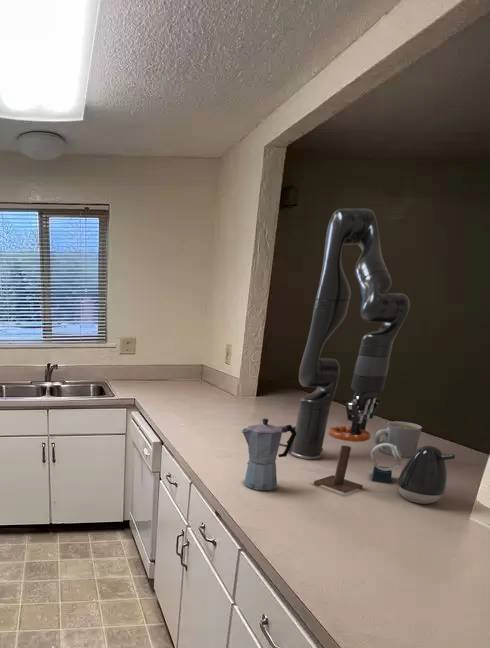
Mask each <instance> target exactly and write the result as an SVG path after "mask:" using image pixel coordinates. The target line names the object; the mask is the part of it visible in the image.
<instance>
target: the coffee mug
mask: <svg viewBox="0 0 490 648" xmlns="http://www.w3.org/2000/svg"><path fill="white" fill-rule="evenodd" d="M422 429H423V426H421V425H419V424H417V423H413V422H407V421H388V422H387V423H386V426H385V428H382V429H379V430H377V431H376V433H375V435H374V443H375V444H376V446H377V445H379V444H382V443H388V444H393V445H394V446H397V448H398V450H399V452H400V454H401V457H402V458H411V457H412V456H413V454H414V453H415V452H416V451H417V448H418V444H419V441H420V436H421V433H422ZM382 435H383V439H382V440H380V439H381V436H382ZM380 451H381V452H382V453H383V454H387V455H390V456H393V453H392V450H391V447H389V446H381V447H380Z"/></svg>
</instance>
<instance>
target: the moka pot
mask: <svg viewBox="0 0 490 648" xmlns="http://www.w3.org/2000/svg"><path fill="white" fill-rule="evenodd" d="M268 423H269V419H268V418H263V419H262V423H258V424H252V425H248V426H247V427H245V428H243V429H242V430H241V434H242V435H243V436H244V439H245V441H246V443H247V447H248V449H247V450H248V461H247V463H246V464H247V467H246V473H245V478H244V486H246V487H247V488H248V489H252V490H255V491H256V490H257V491H271V490H274V489H276V488H277V487H278V478H277V477H278V476H277V463H276V460H277V456H278V458H285V457H287V456H288V454H289V449H290V447H291V445H292V443H293V441H294V438H295V436H296V434H297V433H296V431H295V430H294V428H293V427H294V426H292V425H291V424H287V425H279V426H277V425H274V424H268ZM288 432H290V434H291V435H290V436H289V438H288V440H289V442H288V444H287V443H286V445H287V447H286V446H285V449H284V452H283V453H279V454H278V452H279V449H280V445H279V444H281V439H282V434H285V433H288Z"/></svg>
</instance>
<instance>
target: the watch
mask: <svg viewBox="0 0 490 648" xmlns="http://www.w3.org/2000/svg"><path fill="white" fill-rule="evenodd" d="M381 446H389V447H391V450H392V453H393V455H392V456H393V458H394V461H395V462H396V464H395V465H393V466H391V467H387V466H381V465H378V463H377V461H376V459H375V455H374V454H375V453H374V452H375V451H376V450H378V449H379V448H381ZM370 460H371V463H372V466H373V469H372V474H371V481H373V482H378V483H384V484H390V483H391V478H392V475H393V472H392V471H394V470H396V469H398V468H399V467H400V466H401V462H403V457H401V454H400V452H399V450H398V448H397V446H394V445H393V444H388V443H382V444H379V445H377V444H376V445H374V447H373V448H372V450H371V452H370Z"/></svg>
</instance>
